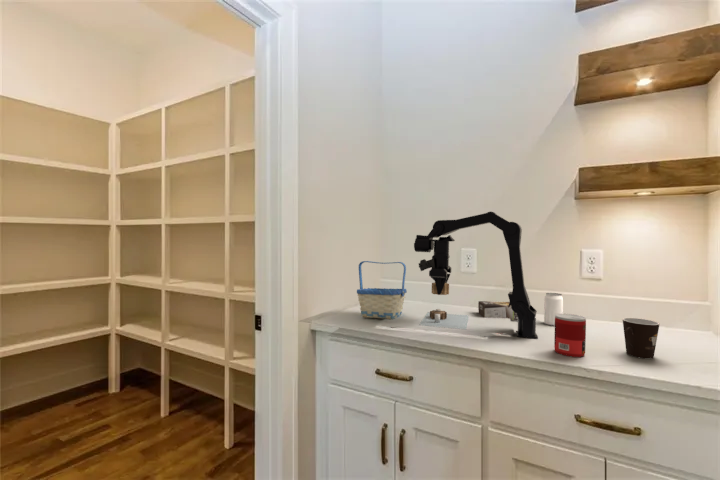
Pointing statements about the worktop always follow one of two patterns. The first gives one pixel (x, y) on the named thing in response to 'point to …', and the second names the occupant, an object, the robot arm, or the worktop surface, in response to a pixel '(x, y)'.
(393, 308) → the basket
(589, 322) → the worktop surface
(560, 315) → the canned food
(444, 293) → the oak gear
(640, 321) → the coffee mug
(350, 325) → the worktop surface
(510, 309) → the coffee box
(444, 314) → the walnut gear
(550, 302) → the can
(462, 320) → the gear board
